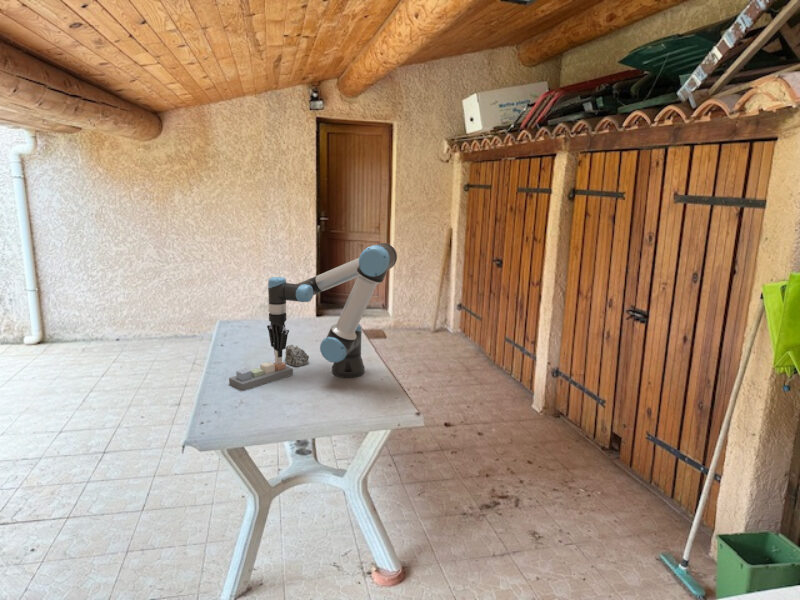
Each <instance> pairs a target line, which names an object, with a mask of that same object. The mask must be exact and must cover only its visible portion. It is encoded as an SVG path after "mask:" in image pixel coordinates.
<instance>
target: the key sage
mask: <svg viewBox="0 0 800 600" xmlns="http://www.w3.org/2000/svg"><path fill="white" fill-rule="evenodd" d="M249 370H250V371H251V377H254V378H256V377H259V376H262V375H263V370H261V369H260V368H258V367H257V368H252V369H249Z"/></svg>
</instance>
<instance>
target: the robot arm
mask: <svg viewBox="0 0 800 600" xmlns="http://www.w3.org/2000/svg"><path fill="white" fill-rule="evenodd" d="M397 254H398V253H397V251H396V249H395V248H394V247H393V246H392V245H391V244H389V243H387V242H386V243H385V242H380V243H376V244H374V245H373V244H372V245H370V246H368V247H366V248H365V249H363V251H362V252H361V253H360V255H359V257H357V258H356V259H355V258H354V259H353V260H351V261H347V262H346V263H343V264H342V265H339V266H336V267H334V268H331V269H330V270H327V271H325V272H323V273H321V274H317V275H315V276H313V277H311V278H308V279H306V280H303V281H301V282H298V283H288V282H287V279H286V278H285V277H281V276H273V277H270V278H268V285H267V291H268V293H267V294H268V321H269V322H270V324H268V325H266V328H267V330H268V335H269V342H270V346H271V348H273V350H274V352H273V353H274V363H275V364H280V363H283V350H286V347H287V341H288V337H289V335H288V334H289V333H290V330H289V329H286V324H285V322H286V321H287V313H286V312H287V301H289V302H290V301H292V302H299V303H309V302H311V301H312V299H313V297H314V296H316V295H318V294H320V293H322V292H324V291H326V290H330V289H332V288H334V287H337V286H339V285H341V284H344V283H347V282H349V281H351V280H353V279H355V282H354V284H353V287H352V289H351V290H350V293H349V295H348V297H347V300H346V302H345V304H344V306H343V309H342V310H341V313H340V314H339V318H338V319H337V322H336V323H334V324H332V325H331V326H330V328H329V331H328V332H327V333H328V334H327V335H326V337H325V338H323V339H322V341H321V343H320V345H319V350H320V351H319V352H320V353H321V356H322V357H323V358H324V359H325V360H326V361H328V362H330V363H333V364H332V366H331V373H332V375H334V376H336V377H338V378H339V377H340V378H347V379H348V378H357V377H360V376H362V375H364V374H365V371H366V369H365V365H364V361H363V358H362V333H363V332H362V326H361V324H360V322H361V320H362V318H363V317H364V313H365V311H366V309H367V307H368V305H369V303H370V301H371V298H372V296H373V294H374V292H375V290H376V289H377V288H376V287H377V285H378V284H381V283H384V282H383V281H384V279H385V277H386V276H387V273H388V271H389V270H391V269H392V268H394V266H395V265H396V263H397V261H398V255H397Z"/></svg>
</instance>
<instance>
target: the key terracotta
mask: <svg viewBox="0 0 800 600" xmlns="http://www.w3.org/2000/svg"><path fill="white" fill-rule="evenodd" d="M273 364H275V362H274V363H273ZM286 366H287V363H284V362H282V363H280V364H275V370H277V371H279V370H282V369H285V368H286Z"/></svg>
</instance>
